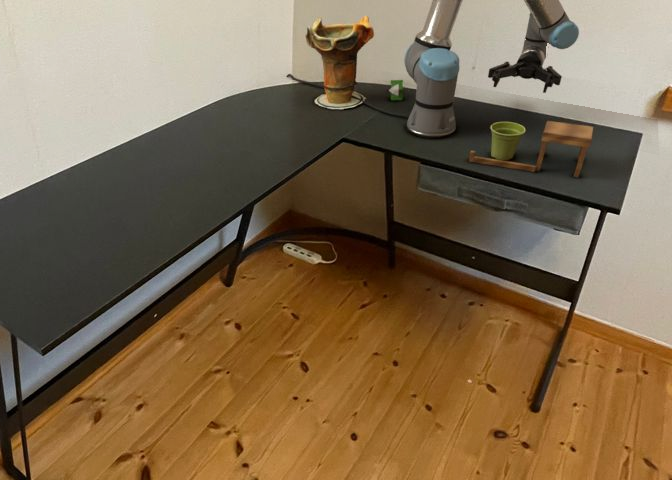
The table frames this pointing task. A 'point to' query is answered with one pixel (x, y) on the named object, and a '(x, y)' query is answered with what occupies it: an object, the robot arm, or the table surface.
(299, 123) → the table surface
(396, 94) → the geometric puzzle
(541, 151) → the plant stand
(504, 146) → the plant pot
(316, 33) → the decorative vase
